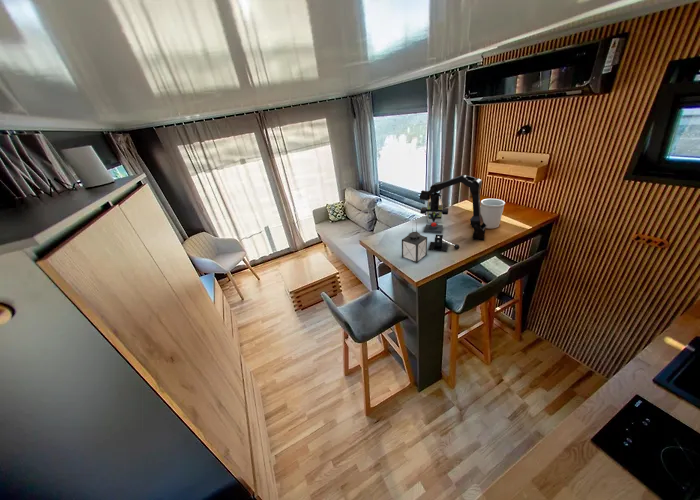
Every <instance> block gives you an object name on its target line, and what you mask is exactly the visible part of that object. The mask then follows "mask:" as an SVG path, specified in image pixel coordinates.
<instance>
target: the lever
mask: <svg viewBox="0 0 700 500" xmlns="http://www.w3.org/2000/svg"><path fill="white" fill-rule="evenodd" d="M437 238H442V237H439V236H437ZM442 243H447V244H448V245H449V246H451V247H453V248H454V249H455V250H458V249H460V245H459V244H458V243H456V244H454V243H452V242H450V241H447V240H445V239H444V238H443V239H442Z"/></svg>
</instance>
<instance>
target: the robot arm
mask: <svg viewBox="0 0 700 500" xmlns="http://www.w3.org/2000/svg"><path fill="white" fill-rule="evenodd" d="M460 183H462V184H463V185H464V186H466V187H468V188H469V191H470V193H471V196H472V197H471V198H472V199H471V200H472V216H471V217H470V219H469V222H470V225H469V226H471V228H472V229H473V231H472V240H473V241H481V242H483V241H485V235H486V229H487V228H486V224H485V223H484V222H483V218H482V215H481V209H480V207H481V190H482V185H483V180H482V179H480V178H479V177H474V176H470V175H467V174H464V173H463V174H461V175H459V176H456V177H453V178H451V179H448V180H444V181H437V182H434V183H433V184H432V185H430V187H429V190H423V189H422V190H420V194H419V200H420V201H425V202H428V201H429V200H430V199H431V202H429V206H430V209H428V206H425V207H424V206H422V207H421V208H420V214H427V212H429V214H428V215H430V216H431V218H432V220H433V222H434V221H435V219H436V217H437V216H438V215H439V214H440V212H442V216H443V215H447V216H448V215H449V210H450V209H449V207H442V210H440V209H439V199H440V197H442V196H444V194H443V193H442V192H441V191H442V190H443V189H445V188H449V187H451V186H455V185H458V184H460ZM434 212H435V216H434Z"/></svg>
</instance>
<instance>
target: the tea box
mask: <svg viewBox="0 0 700 500" xmlns="http://www.w3.org/2000/svg"><path fill="white" fill-rule="evenodd" d="M429 202H431V199H430V200H429V201H427V209H430V206H429ZM439 209H440V210H442V209H443V202H442V199H441V198H439ZM428 214H429V212H426V218H427V222H428V223H427V224H431V223H436V224H438V223H442V216H443V214H442V212H440V214H439V215H438V216H437V217H436V219H435V221H434V222H433V220H432V218H431V216H430V215H428ZM434 216H435V212H434Z"/></svg>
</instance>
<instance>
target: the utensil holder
mask: <svg viewBox="0 0 700 500" xmlns="http://www.w3.org/2000/svg"><path fill="white" fill-rule="evenodd" d="M505 205H506V202H505V201H504V200H503V199H500V198H484V199H482V200H481V199H480V209H481V215H482V218H483V222H484V223H485V224H486V228H485V229H497V228H499V227H500V224H501V220H502V216H503V212H504V209H505Z"/></svg>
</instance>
